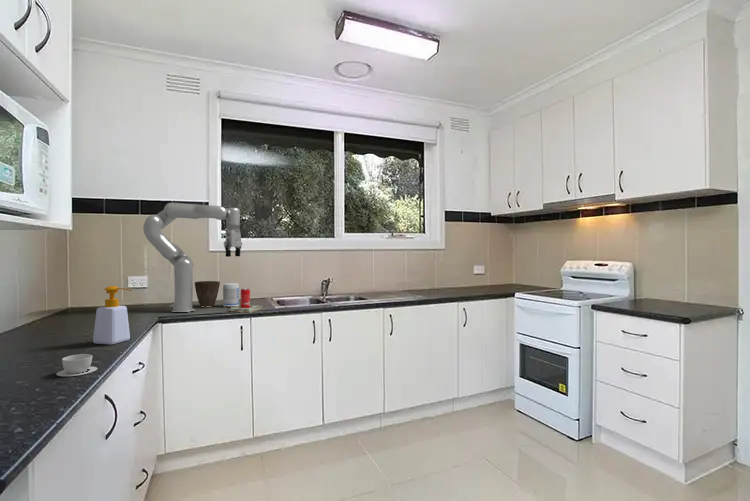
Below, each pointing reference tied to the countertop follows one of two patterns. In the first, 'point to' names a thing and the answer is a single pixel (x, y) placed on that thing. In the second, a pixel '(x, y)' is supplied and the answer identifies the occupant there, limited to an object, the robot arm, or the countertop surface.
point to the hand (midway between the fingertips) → (233, 256)
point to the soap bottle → (111, 321)
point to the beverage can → (245, 298)
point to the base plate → (245, 309)
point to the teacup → (76, 365)
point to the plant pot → (207, 292)
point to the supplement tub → (231, 294)
